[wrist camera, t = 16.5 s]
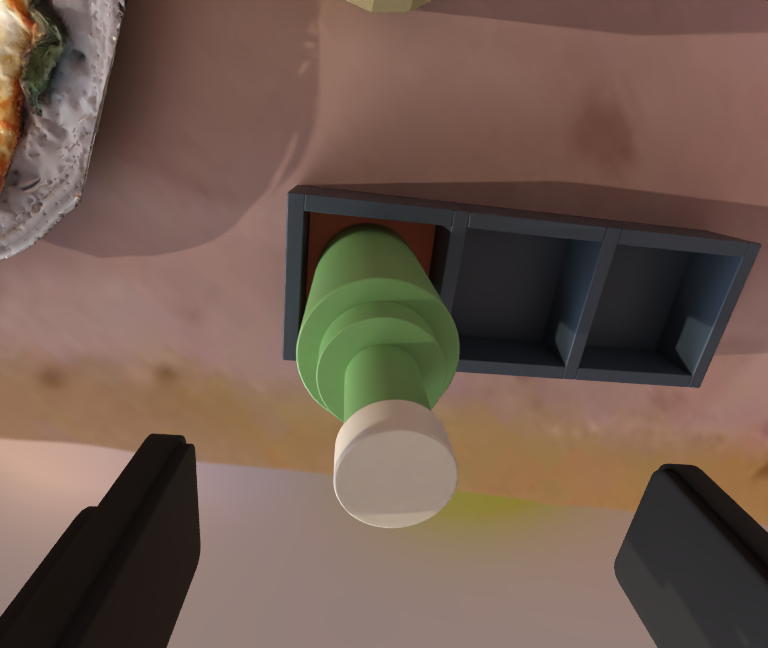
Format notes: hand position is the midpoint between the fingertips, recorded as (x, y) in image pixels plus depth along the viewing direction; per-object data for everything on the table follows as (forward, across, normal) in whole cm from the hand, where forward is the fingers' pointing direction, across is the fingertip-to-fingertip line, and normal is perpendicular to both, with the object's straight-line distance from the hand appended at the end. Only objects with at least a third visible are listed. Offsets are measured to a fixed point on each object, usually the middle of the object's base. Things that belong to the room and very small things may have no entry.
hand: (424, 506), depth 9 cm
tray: (+19, -7, 0) cm, 20 cm away
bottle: (+18, +1, 0) cm, 18 cm away
